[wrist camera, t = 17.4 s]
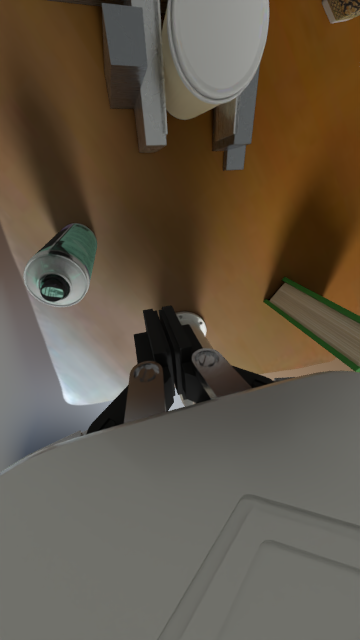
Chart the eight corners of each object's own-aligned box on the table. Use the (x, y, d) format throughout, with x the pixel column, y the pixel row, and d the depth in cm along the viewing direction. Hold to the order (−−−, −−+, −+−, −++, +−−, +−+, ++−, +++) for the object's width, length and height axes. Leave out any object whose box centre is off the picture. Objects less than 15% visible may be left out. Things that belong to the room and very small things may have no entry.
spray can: (53, 225, 32) (-4, 268, 16) (90, 220, 33) (72, 255, 17) (68, 261, 35) (32, 326, 19) (101, 255, 36) (95, 312, 20)
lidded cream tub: (227, 93, 29) (286, 48, 19) (177, 144, 31) (209, 126, 21) (190, -3, 24) (244, -132, 14) (131, 64, 25) (145, -10, 16)
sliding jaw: (157, 152, 30) (179, 137, 21) (117, 153, 29) (122, 137, 19) (145, 16, 24) (171, -101, 14) (94, 11, 22) (82, -121, 13)
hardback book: (263, 301, 52) (355, 371, 32) (284, 276, 49) (397, 335, 30) (298, 326, 61) (387, 392, 41) (318, 306, 58) (421, 366, 39)
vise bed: (239, 169, 35) (269, 166, 28) (67, 177, 29) (55, 175, 23) (255, -4, 25) (305, -68, 19) (5, -39, 20) (-46, -148, 13)
